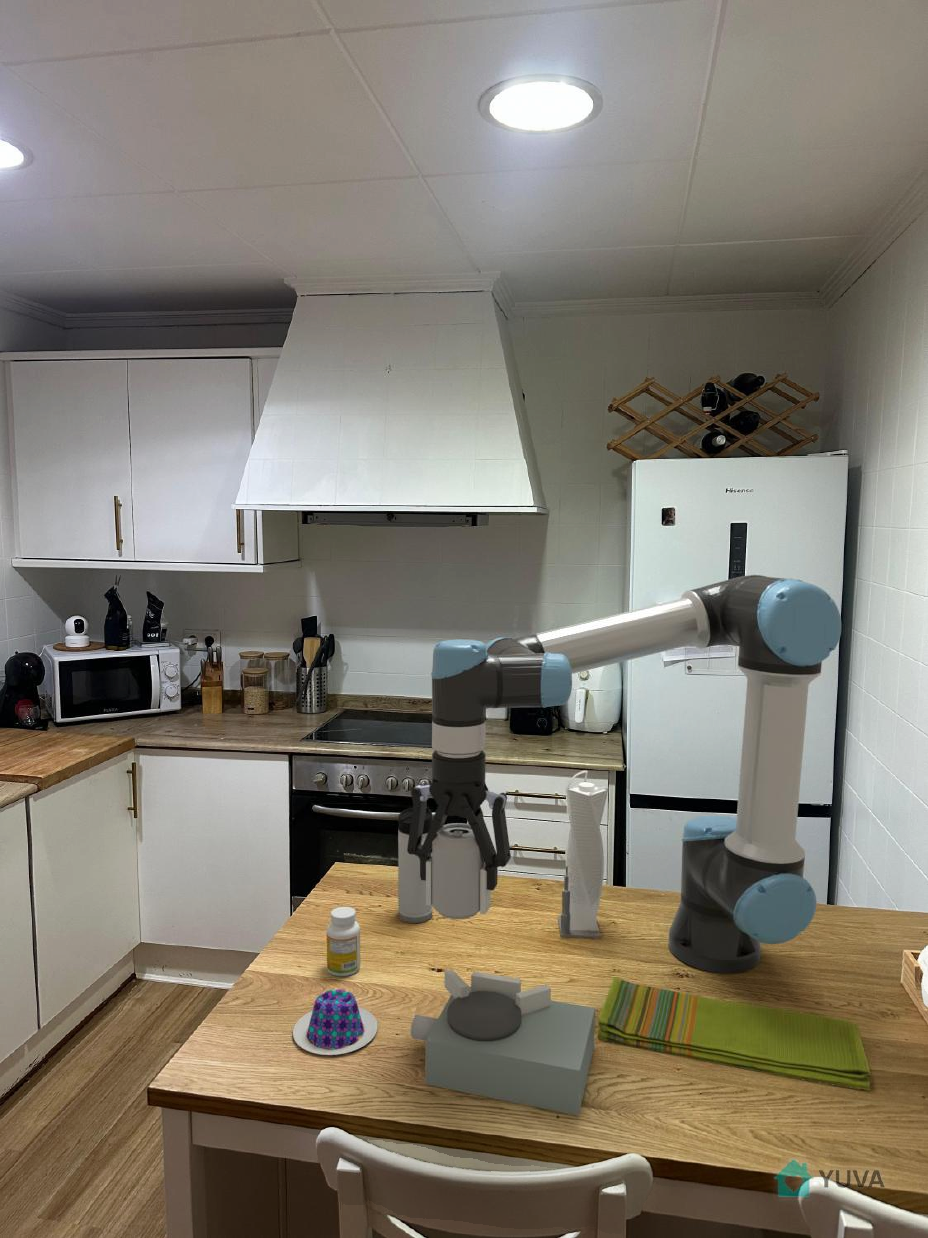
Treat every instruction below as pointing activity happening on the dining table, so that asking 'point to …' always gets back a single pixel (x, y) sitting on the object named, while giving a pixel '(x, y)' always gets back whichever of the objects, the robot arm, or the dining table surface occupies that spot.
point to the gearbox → (508, 1043)
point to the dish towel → (735, 1034)
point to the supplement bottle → (343, 942)
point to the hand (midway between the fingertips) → (458, 905)
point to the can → (456, 872)
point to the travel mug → (411, 873)
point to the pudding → (335, 1024)
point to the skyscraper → (583, 861)
